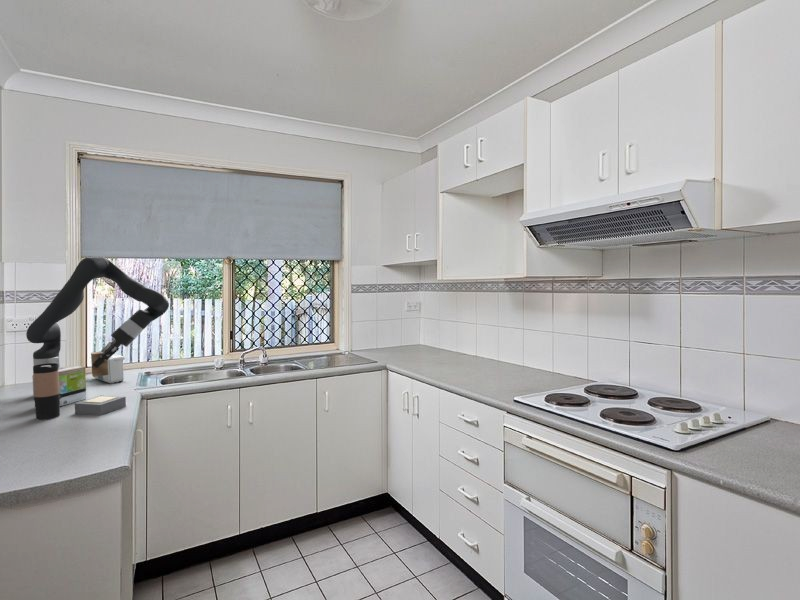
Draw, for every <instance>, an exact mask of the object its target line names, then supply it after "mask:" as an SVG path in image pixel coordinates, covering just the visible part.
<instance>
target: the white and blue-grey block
mask: <svg viewBox="0 0 800 600" xmlns="http://www.w3.org/2000/svg"><path fill="white" fill-rule="evenodd" d="M107 356H108V355H107ZM125 359H126V357H125V356H123V355H120V354H116V353H114V354H113V355H112V356H111V357H110V358H109V359H108V375H105V376H97V377H93V378H94V379H96V380H99V381H103V382H106V383H108V384H111V383H112V384H115V383H114V382H116V383H119V381H122V382H124V379H125V378H124V360H125Z"/></svg>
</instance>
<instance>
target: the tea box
mask: <svg viewBox="0 0 800 600" xmlns="http://www.w3.org/2000/svg"><path fill="white" fill-rule="evenodd" d="M58 374H59V391H60V407H61V406H66V405H68V404H69V405H70V404H75V403H77V402H81V401H84V399H85V400H87V387H86V386H87V384H86V383H87V382H86V381H87V380H86V379H87V378H86V366H77V365H76V366H75V365H73V366H71V365H67V366H66V365H65V366H60V368H58Z"/></svg>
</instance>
